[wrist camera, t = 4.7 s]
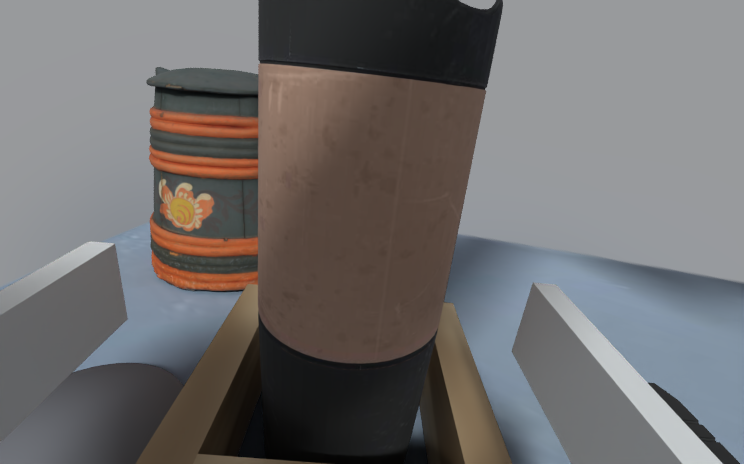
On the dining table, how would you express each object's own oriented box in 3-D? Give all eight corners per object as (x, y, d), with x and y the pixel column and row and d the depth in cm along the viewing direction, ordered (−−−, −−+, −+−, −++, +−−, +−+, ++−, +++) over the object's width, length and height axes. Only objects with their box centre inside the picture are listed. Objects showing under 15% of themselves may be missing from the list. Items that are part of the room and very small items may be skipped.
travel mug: (288, 377, 23) (300, 7, 15) (411, 398, 22) (484, 26, 15) (230, 507, 16) (198, -65, 8) (408, 543, 15) (545, -33, 8)
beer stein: (364, 248, 42) (385, 56, 35) (328, 321, 28) (350, 32, 21) (211, 221, 44) (201, 36, 37) (111, 277, 31) (62, 4, 23)
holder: (439, 364, 25) (452, 303, 23) (500, 621, 13) (539, 535, 11) (249, 348, 25) (247, 283, 23) (131, 599, 13) (108, 505, 11)
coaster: (216, 380, 22) (215, 369, 22) (120, 562, 14) (117, 549, 13) (61, 367, 22) (59, 356, 21) (-135, 546, 13) (-144, 532, 13)
